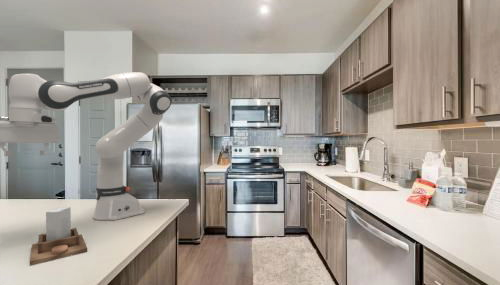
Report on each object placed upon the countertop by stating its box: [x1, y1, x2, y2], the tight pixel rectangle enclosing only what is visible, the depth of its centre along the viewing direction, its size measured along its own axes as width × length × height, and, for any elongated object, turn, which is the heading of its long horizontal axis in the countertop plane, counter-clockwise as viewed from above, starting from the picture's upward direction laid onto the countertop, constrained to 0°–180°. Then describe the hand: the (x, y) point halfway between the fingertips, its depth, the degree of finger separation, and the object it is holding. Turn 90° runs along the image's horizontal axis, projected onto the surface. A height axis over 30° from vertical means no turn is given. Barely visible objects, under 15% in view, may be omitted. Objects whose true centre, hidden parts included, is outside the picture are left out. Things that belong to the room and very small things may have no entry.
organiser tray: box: [29, 227, 88, 266], centre depth 81 cm, size 14×16×4 cm
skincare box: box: [45, 206, 72, 242], centre depth 83 cm, size 6×4×12 cm
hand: (25, 155), depth 89 cm, fingers open, 8 cm apart
